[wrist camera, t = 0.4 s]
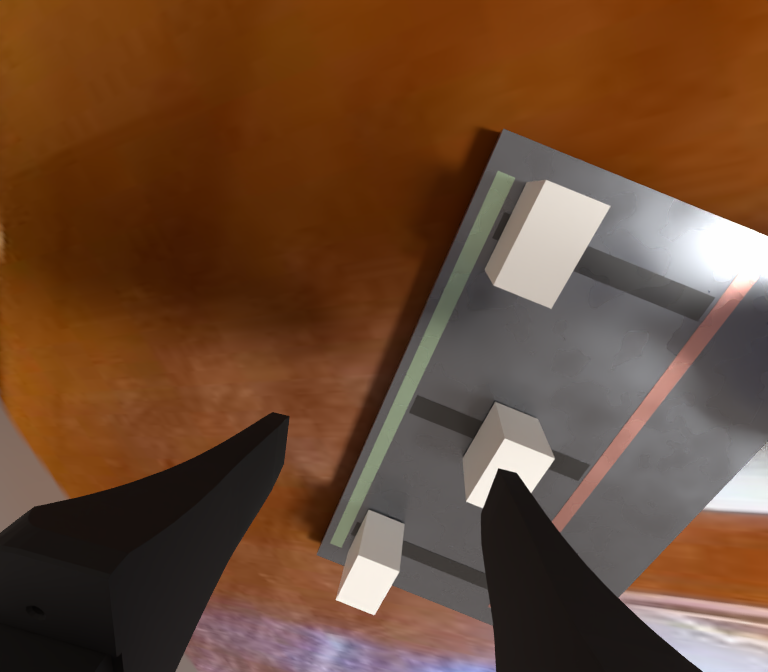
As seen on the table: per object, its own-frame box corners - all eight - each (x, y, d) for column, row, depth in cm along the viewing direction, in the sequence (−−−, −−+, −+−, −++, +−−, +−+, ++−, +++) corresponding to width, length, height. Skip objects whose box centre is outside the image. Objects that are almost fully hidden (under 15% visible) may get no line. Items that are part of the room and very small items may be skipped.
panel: (882, 288, 17) (908, 293, 16) (559, 638, 27) (564, 654, 26) (499, 132, 17) (503, 128, 16) (321, 542, 27) (316, 555, 26)
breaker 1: (404, 524, 24) (399, 571, 21) (382, 565, 25) (374, 615, 22) (368, 509, 24) (358, 555, 21) (348, 551, 25) (335, 599, 22)
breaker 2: (579, 203, 16) (610, 206, 13) (532, 289, 18) (551, 308, 15) (526, 182, 16) (546, 179, 13) (484, 269, 18) (493, 285, 15)
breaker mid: (537, 419, 20) (555, 458, 17) (502, 474, 21) (512, 520, 18) (495, 401, 20) (504, 438, 17) (462, 458, 21) (465, 501, 18)
